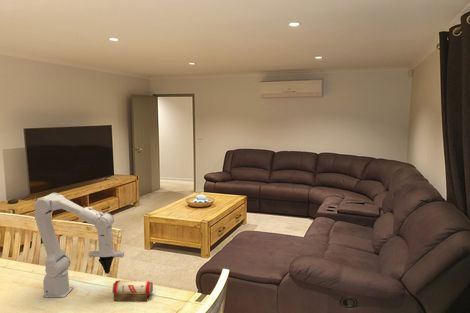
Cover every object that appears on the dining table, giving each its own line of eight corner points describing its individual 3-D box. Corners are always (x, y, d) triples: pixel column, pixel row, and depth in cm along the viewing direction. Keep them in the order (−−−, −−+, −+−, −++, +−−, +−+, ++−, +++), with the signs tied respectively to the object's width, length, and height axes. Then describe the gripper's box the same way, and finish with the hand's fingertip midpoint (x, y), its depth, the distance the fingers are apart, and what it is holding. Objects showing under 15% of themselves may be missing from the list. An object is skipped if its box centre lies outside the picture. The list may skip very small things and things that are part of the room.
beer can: (112, 298, 151) (149, 299, 150) (111, 285, 149) (148, 286, 149) (117, 290, 157) (153, 291, 156) (116, 277, 156) (152, 278, 155)
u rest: (113, 301, 150) (113, 293, 149) (121, 289, 159) (121, 281, 159) (147, 301, 149) (146, 293, 149) (152, 289, 159) (152, 282, 158)
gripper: (125, 239, 155) (127, 268, 157) (92, 238, 155) (94, 268, 157) (120, 245, 148) (121, 276, 150) (85, 245, 148) (87, 275, 150)
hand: (107, 272), depth 153 cm, fingers closed
